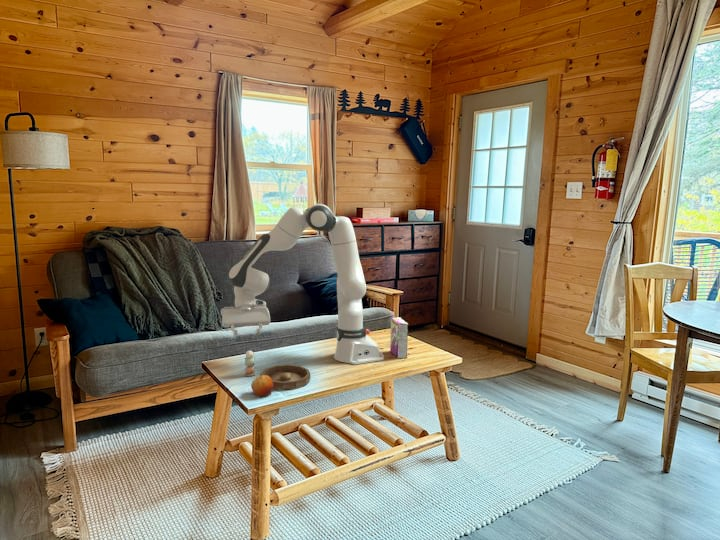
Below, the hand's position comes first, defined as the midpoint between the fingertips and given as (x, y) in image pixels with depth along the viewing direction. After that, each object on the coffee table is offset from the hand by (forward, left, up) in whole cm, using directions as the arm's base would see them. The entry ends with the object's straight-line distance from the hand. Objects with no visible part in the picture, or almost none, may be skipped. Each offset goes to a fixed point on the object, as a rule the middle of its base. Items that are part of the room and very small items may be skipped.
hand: (247, 334), depth 209 cm
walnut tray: (-13, +20, -14) cm, 28 cm away
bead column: (0, +11, -14) cm, 18 cm away
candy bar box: (-68, +1, -14) cm, 70 cm away
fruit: (-3, +31, -14) cm, 34 cm away
